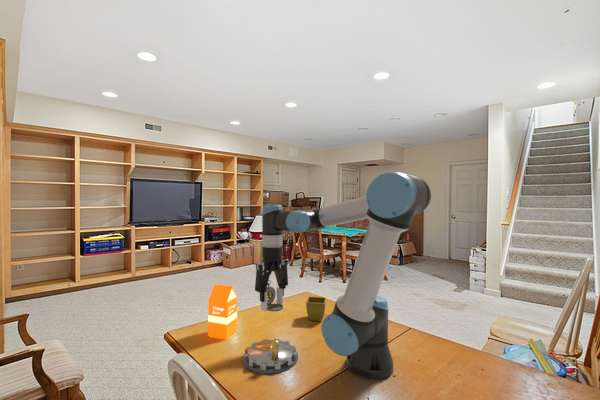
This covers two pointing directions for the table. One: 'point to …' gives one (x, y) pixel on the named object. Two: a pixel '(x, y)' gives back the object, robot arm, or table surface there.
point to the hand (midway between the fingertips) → (272, 307)
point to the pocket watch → (272, 299)
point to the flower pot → (315, 308)
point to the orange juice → (222, 312)
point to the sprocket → (270, 354)
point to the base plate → (272, 370)
